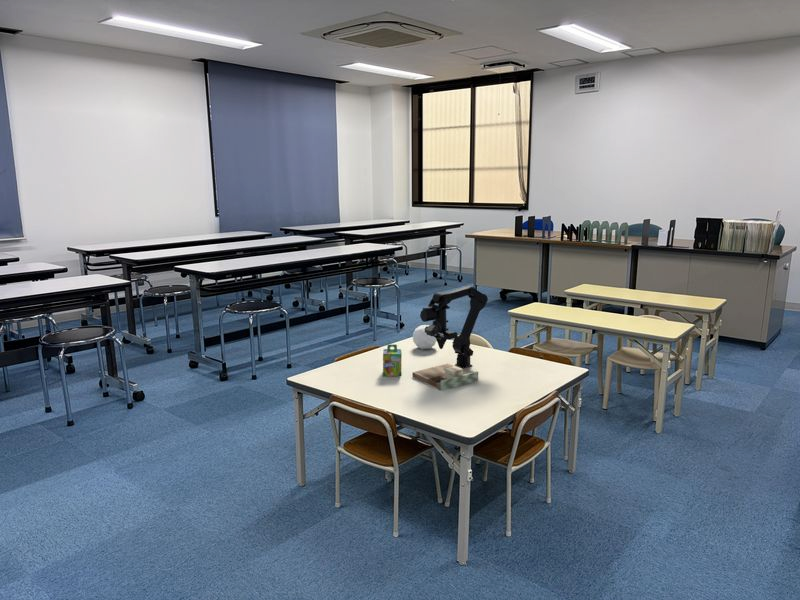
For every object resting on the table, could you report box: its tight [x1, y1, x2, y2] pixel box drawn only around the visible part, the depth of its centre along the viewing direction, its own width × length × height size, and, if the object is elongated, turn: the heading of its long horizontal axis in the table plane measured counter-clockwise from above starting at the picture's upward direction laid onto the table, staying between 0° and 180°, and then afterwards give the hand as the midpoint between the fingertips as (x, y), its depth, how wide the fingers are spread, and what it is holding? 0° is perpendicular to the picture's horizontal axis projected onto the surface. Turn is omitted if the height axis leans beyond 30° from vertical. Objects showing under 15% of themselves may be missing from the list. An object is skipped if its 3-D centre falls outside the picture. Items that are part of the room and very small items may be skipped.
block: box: [445, 365, 464, 379], centre depth 269 cm, size 6×6×4 cm
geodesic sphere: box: [412, 324, 437, 350], centre depth 325 cm, size 15×14×14 cm
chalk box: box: [382, 343, 403, 378], centre depth 283 cm, size 9×9×15 cm
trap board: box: [412, 363, 479, 392], centre depth 275 cm, size 22×23×4 cm
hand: (441, 348), depth 284 cm, fingers closed
